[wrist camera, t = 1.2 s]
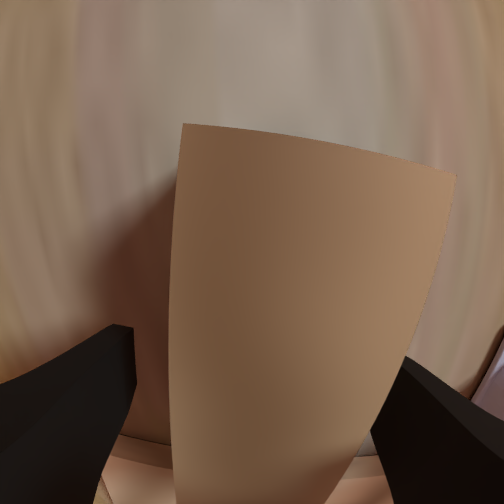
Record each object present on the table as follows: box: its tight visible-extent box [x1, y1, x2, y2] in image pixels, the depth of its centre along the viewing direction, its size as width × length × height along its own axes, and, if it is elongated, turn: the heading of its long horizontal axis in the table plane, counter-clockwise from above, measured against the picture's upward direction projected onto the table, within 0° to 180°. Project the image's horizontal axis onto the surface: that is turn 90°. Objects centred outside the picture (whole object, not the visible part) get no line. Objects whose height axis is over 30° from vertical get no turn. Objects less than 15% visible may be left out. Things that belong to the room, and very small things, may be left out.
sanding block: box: [168, 123, 457, 504], centre depth 9 cm, size 4×12×6 cm, turn 172°
